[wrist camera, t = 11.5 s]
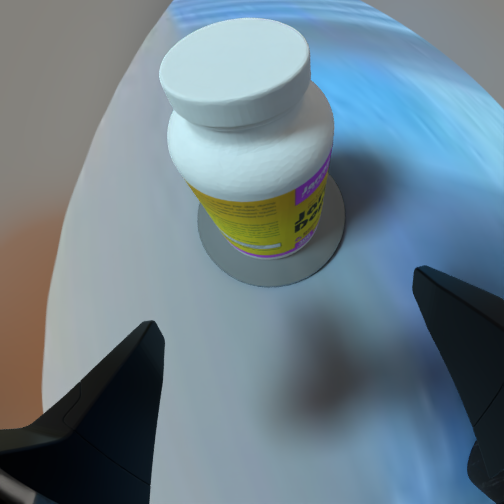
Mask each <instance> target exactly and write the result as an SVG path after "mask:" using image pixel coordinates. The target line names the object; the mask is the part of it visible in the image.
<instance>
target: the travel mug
mask: <svg viewBox="0 0 504 504" xmlns="http://www.w3.org/2000/svg"><path fill="white" fill-rule="evenodd" d="M467 472H468V476H469V479H470V480H471V482H472V483H473V484H474V485H475V486H477V487H478V488H479V489H480V490H481V491H482V492H483V493H485V494H486V495H487V496H488V497H489V498H490V499H492V500H493V501H494V502H495V503H496V504H498V503H500V502H501V501H503V500H504V470H503V471H502V472H500V473H499V474H497V475H496V476H494V477H492V478H491V479H490V478H489V476H488V473H487V469H486V466H485V463H484V460H483V456H482V453H481V450H480V447H479V444H478V441H476V442H475V444H474V446H473V448H472V451H471V453H470V456H469V460H468V466H467Z"/></svg>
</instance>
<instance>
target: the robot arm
mask: <svg viewBox="0 0 504 504" xmlns="http://www.w3.org/2000/svg"><path fill="white" fill-rule="evenodd" d="M412 290H413V294H414V297H415V299H416V301H417V304H418V306H419V308H420V311H421V313H422V316H423V318H424V321H425V323H426V326H427V328H428V330H429V332H430V334H431V336H432V338H433V340H434V342H435V344H436V346H437V348H438V350H439V352H440V354H441V356H442V358H443V360H444V362H445V364H446V366H447V368H448V370H449V372H450V375H451V377H452V379H453V381H454V383H455V386H456V388H457V390H458V393H459V395H460V397H461V400H462V402H463V404H464V407H465V409H466V412H467V414H468V417H469V419H470V422H471V425H472V427H473V430H474V433H475V436H476V439H477V441H478V444H479V447H480V450H481V453H482V456H483V460H484V463H485V466H486V469H487V473H488V476H489V478H490V479H491V478H492V477H494V476H496V475H497V474H499V473H500V472H502V471H503V470H504V300H503V299H502V298H500V297H498V296H496V295H494V294H491V293H489V292H487V291H485V290H482V289H480V288H478V287H476V286H473V285H471V284H469V283H466V282H464V281H462V280H460V279H457V278H455V277H453V276H450V275H448V274H445V273H443V272H441V271H438V270H436V269H433V268H431V267H429V266H426V265H424V266H420V267H417V268H415V270H414V276H413V286H412ZM164 350H165V340H164V337H163V335H162V333H161V331H160V329H159V328H158V326H157V324H156V322H155V321H153V320H150V321H144V322H142V323H141V324H140V325H139V326H138V327H137V328H136V329H134V330H133V331H132V332H131V333H130V334H129V335H128V336H127V337H126V338H125V339H124V340H123V341H122V342H121V343H120V344H118V345H117V346H116V347H115V348H114V349H113V350H112V351H111V352H110V353H109V354H108V355H107V356H106V357H105V358H104V359H103V360H102V361H101V362H100V363H98V364H97V365H96V366H95V367H94V368H93V369H92V370H91V371H90V372H89V373H88V374H87V375H86V376H85V377H84V378H83V379H82V380H81V382H79V383H78V384H77V385H76V386H75V387H74V388H72V389H71V390H70V391H69V392H68V393H67V394H66V395H65V396H64V397H63V398H62V399H60V400H59V401H58V402H57V403H56V404H55V405H53V406H52V407H51V408H50V409H49V410H47V411H46V412H45V413H44V414H43V415H42V416H40V417H39V418H38V419H37V420H36V421H34V422H33V423H32V424H30V425H28V426H26V427H23V428H17V429H3V430H0V504H149V501H150V485H151V473H152V463H153V453H154V444H155V435H156V427H157V419H158V412H159V405H160V398H161V391H162V384H163V372H164ZM498 504H504V500H503V501H501V502H500V503H498Z"/></svg>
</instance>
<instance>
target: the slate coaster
mask: <svg viewBox="0 0 504 504" xmlns="http://www.w3.org/2000/svg"><path fill="white" fill-rule="evenodd" d="M344 224H345V208H344V201H343V198H342V195H341V192H340V190H339V188H338V186H337V184H336V182H335V181H334V179H333V178H332V176H331V175H330V174H329V173H328V176H327V182H326V188H325V195H324V200H323V205H322V210H321V216H320V220H319V223H318V226H317V229H316V231H315V233H314V235H313V236H312V238H311V239H310V240H309V242H308V243H307V244H306V245H305V246H304V247H302V248H301V249H300V250H298V251H297V252H295V253H293V254H291V255H289V256H286V257H283V258H279V259H271V260H265V259H257V258H253V257H250V256H247V255H245V254H243V253H241V252H239V251H238V250H237V249H235V248H234V247H233V246H232V245H231V244H230V243H229V242H228V241H227V239H226V238H225V237H224V236H223V234H222V233H221V231H220V230H219V228H218V227H217V226H216V224H215V223H214V221H213V220H212V218H211V217H210V215H209V214H208V213H207V211H206V210H205V208H204V207H203V205H202V204H201V202H200V204H199V209H198V231H199V235H200V239H201V241H202V244H203V247H204V248H205V250H206V252H207V254H208V255H209V257H210V258H211V259H212V260H213V262H214V263H215V264H216V265H217V266H218V267H219V268H220V269H221V270H223V271H224V272H225V273H227V274H228V275H229V276H231V277H233V278H235V279H236V280H238V281H241V282H243V283H246V284H249V285H253V286H258V287H281V286H287V285H291V284H294V283H297V282H300V281H302V280H304V279H306V278H308V277H310V276H311V275H313V274H314V273H316V272H317V271H318V270H319V269H320V268H322V267H323V266H324V265H325V264H326V263H327V261H328V260H329V259H330V258H331V256H332V255H333V253H334V252H335V250H336V248H337V246H338V244H339V242H340V240H341V237H342V233H343V230H344Z"/></svg>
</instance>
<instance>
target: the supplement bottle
mask: <svg viewBox="0 0 504 504" xmlns="http://www.w3.org/2000/svg"><path fill="white" fill-rule="evenodd" d="M159 79H160V82H161V85H162V87H163V89H164V91H165V93H166V96H167V98H168V100H169V102H170V104H171V106H172V108H173V109H174V110H173V112H172V115H171V117H170V121H169V125H168V131H167V140H168V148H169V152H170V155H171V158H172V160H173V163H174V164H175V166H176V168H177V169H178V171H179V172H180V174H181V175H182V177H183V178H184V180H185V181H186V182H187V184H188V185H189V187H190V188H191V189H192V191H193V192H194V194H195V195H196V197H197V198H198V199H199V201H200V202H201V204H202V205H203V207H204V208H205V210H206V211H207V213H208V214H209V215H210V217H211V218H212V220H213V221H214V223H215V224H216V226H217V227H218V228H219V230H220V231H221V233H222V234H223V236H224V237H225V238H226V239H227V241H228V242H229V243H230V244H231V245H232V246H233V247H234V248H235V249H237V250H238V251H239V252H241V253H243V254H245V255H247V256H250V257H253V258H257V259H265V260H271V259H279V258H283V257H286V256H289V255H291V254H293V253H295V252H297V251H298V250H300V249H301V248H302V247H304V246H305V245H306V244H307V243H308V242H309V240H310V239H311V238H312V236H313V235H314V233H315V231H316V229H317V226H318V223H319V220H320V216H321V210H322V205H323V200H324V195H325V188H326V182H327V176H328V169H329V163H330V157H331V151H332V145H333V136H334V118H333V113H332V110H331V107H330V104H329V102H328V100H327V98H326V97H325V95H324V94H323V92H322V91H321V90H320V89H319V87H318V86H317V85H316V84H315V83H314V82H312V81H311V71H310V50H309V45H308V43H307V41H306V39H305V38H304V37H303V36H302V35H301V34H300V33H299V32H298V31H297V30H296V29H294V28H292V27H290V26H288V25H286V24H283V23H281V22H278V21H274V20H269V19H262V18H239V19H232V20H226V21H221V22H217V23H214V24H211V25H208V26H206V27H203V28H201V29H199V30H196V31H194V32H193V33H191V34H189V35H187V36H186V37H185V38H183V39H182V40H180V41H179V42H178V43H177V44H175V45H174V46H173V47H172V48H171V49H170V51H169V52H168V53H167V54H166V56H165V57H164V59H163V61H162V64H161V66H160V71H159Z"/></svg>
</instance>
